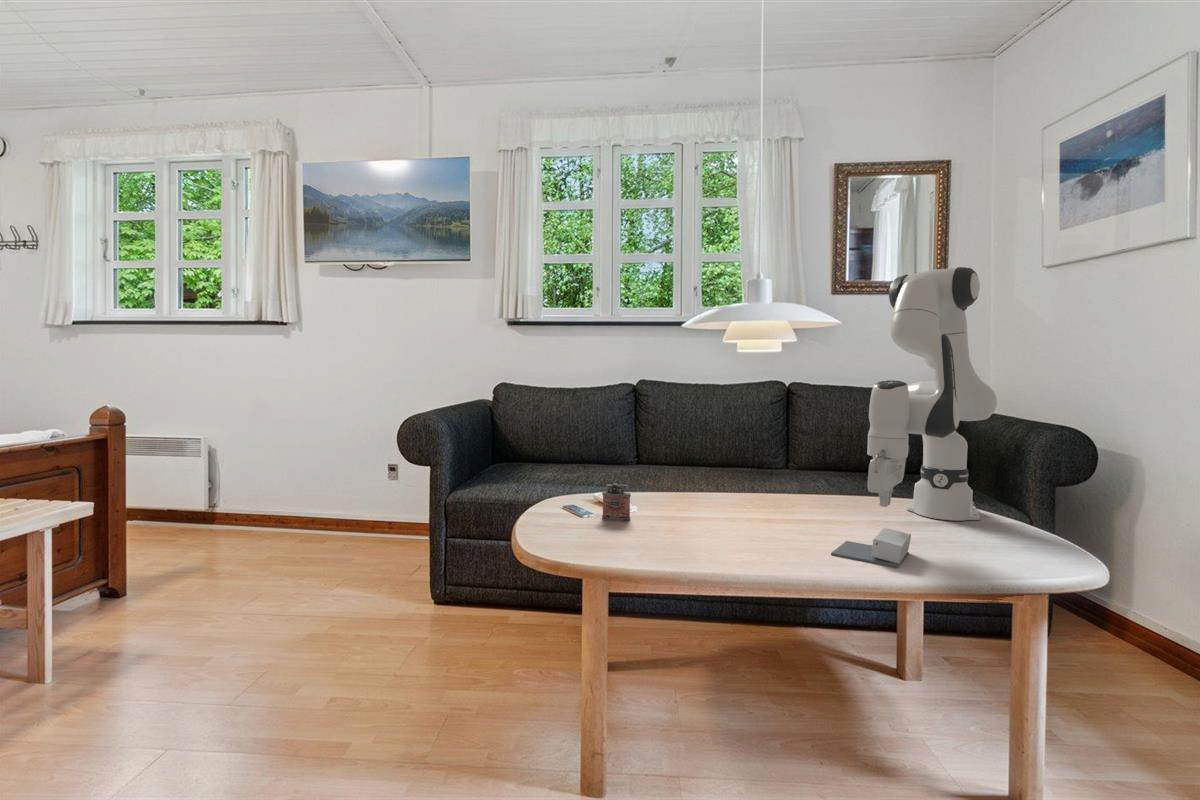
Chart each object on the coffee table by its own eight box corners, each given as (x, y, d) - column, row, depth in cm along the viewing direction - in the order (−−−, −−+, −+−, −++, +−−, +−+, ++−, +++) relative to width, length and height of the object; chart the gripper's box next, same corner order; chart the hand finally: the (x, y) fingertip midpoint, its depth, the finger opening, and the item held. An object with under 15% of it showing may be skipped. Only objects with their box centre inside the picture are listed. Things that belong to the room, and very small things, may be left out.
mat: (846, 542, 150) (846, 540, 150) (909, 554, 142) (909, 552, 141) (831, 554, 141) (831, 552, 141) (897, 567, 132) (897, 565, 132)
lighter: (600, 519, 170) (600, 484, 169) (604, 516, 173) (604, 481, 173) (628, 522, 168) (629, 486, 167) (631, 519, 171) (632, 483, 170)
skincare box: (881, 543, 146) (869, 556, 136) (884, 526, 145) (872, 538, 136) (909, 551, 142) (899, 564, 133) (912, 533, 142) (902, 546, 132)
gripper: (891, 454, 136) (888, 516, 137) (910, 445, 152) (908, 500, 153) (861, 452, 140) (859, 511, 140) (883, 443, 156) (881, 496, 157)
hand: (884, 505), depth 147 cm, fingers closed
